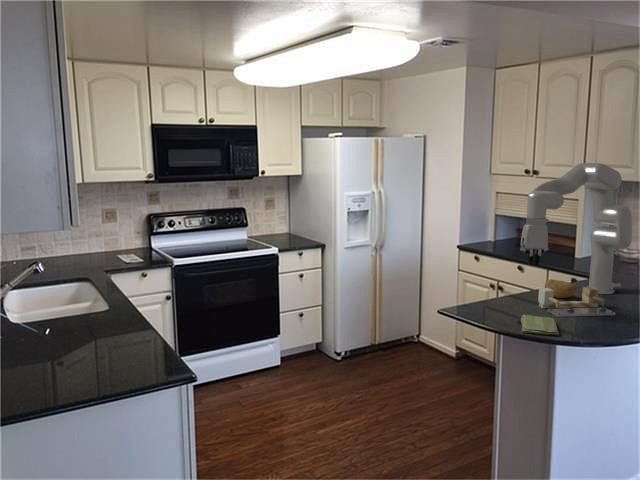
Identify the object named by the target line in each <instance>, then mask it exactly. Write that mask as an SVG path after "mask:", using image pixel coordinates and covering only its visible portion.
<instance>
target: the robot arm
mask: <svg viewBox="0 0 640 480" xmlns="http://www.w3.org/2000/svg"><path fill="white" fill-rule="evenodd" d="M621 184H622V175H621V173H620V172H619V171H618V170H616V169H614V168H612V167H611V166H609V165H607V164H605V163H600V162H582V163H581V162H580V163H578V164H576V165H575V166H573V167H572V168H571V169H570V170H569V171H567V172H565V173H564V174H563V175H562V176H560V177H556V178H553V179H552V180H549V181H546V182H544V183H541V184H540V185H538V186H537V187H535V188H534V189H533V190H532V191H531V192H529V193H528V194H527V203H526V204H527V205H526V206H527V207H526V222H525V224H524V225H523V228H522V232H521V239H520V248H519V250H520V252H521V251H522V252H524V253H525V254H526V255H527V263H528V265H529V266H531V267H533V266H534V265H535V266H539V265H540V264H539V263H540V258H541V256H542V254H544V252H546V251H549V232H548V231H549V230H548V225H547V223H549V219H548V218H547V210H557V209H560V208H561V207H562V206H563V205H564V201H565V199H564V196H566V195H569V194H574V193H575V192H576V191H578V190H579V189H580V188H581V187H582V186H584V187H585V188H586V189H588V190H589V192H590V193H591V197H592V215H593V220H594V222H596V224H599V225H598V226H595V227H593V228H592V230H591V231H590V235H589V238H590V245H591V246H590V248H591V255H590V267H589V279H588V280H589V281H588V285H587V286H585V287H593V288H596V289H598V295H612V294H614V293H615V288H621V287H622V285H621V283H615V282H613V268H614V258H615V257H614V252H613V250H612V249H611V248H614V249H621V250H622V249H624V250H625V249H628V248H629V247H630V246H631V244H632V240H633V218H632V217H633V216H632V211H631V209H630V208H629V207H628V206H627V205H624V204H623V205H622V204H620V205H619V204H615V203H614V193H613V190H616V189H618V188H620V186H621ZM601 224H602V225H601ZM605 225H606V226H605ZM607 225H609V226H607ZM614 226H615V227H614ZM534 250H535V254H534ZM533 254H534V255H533Z"/></svg>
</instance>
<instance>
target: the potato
mask: <svg viewBox="0 0 640 480" xmlns="http://www.w3.org/2000/svg"><path fill="white" fill-rule="evenodd" d="M544 288H549V289H551V290H553V291H554V296H553V298H555V299H556V298H558V299H564V298H565V299H568V298H571V297H573V296H574V295H575V294H576V293H577V292H578V291H577V290H578V287H577V285H576V284H574V283H571V282H567V281H564V280H558V279H547V280H546V281H545V283H544Z"/></svg>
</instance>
